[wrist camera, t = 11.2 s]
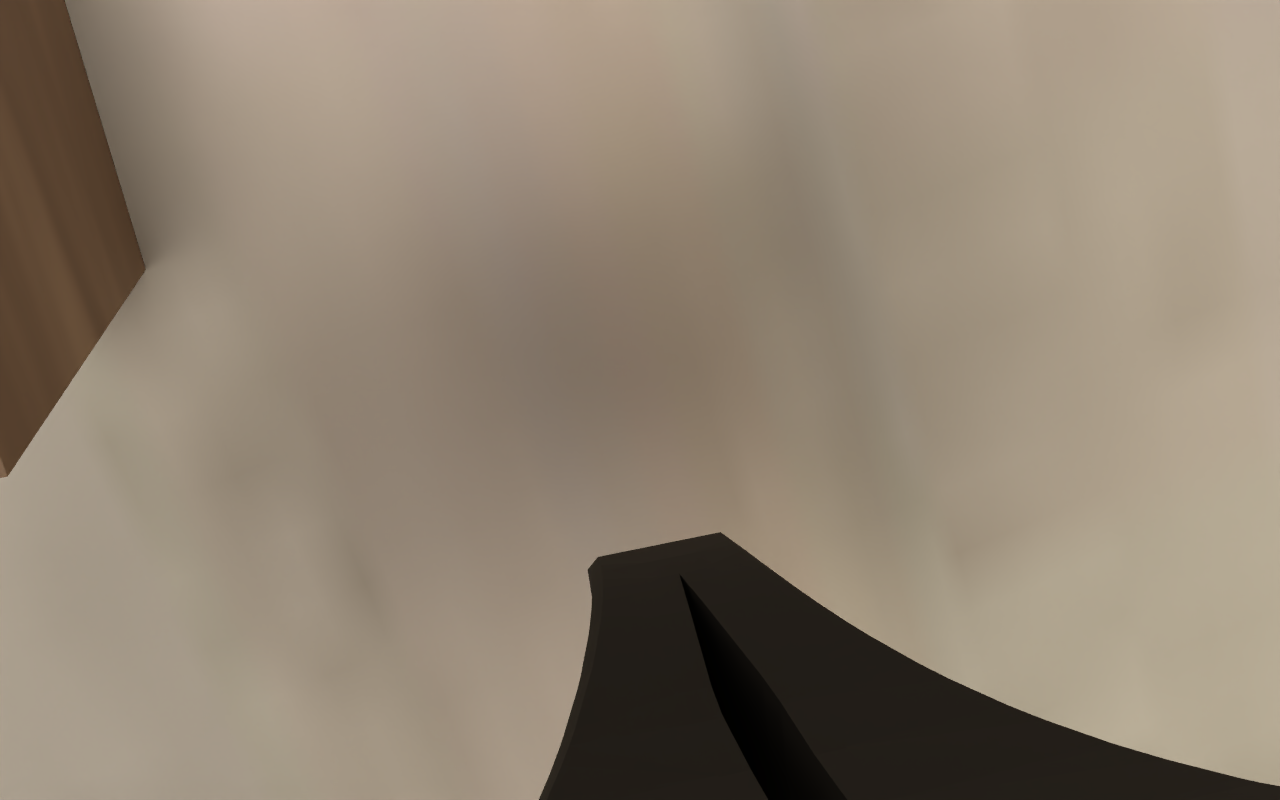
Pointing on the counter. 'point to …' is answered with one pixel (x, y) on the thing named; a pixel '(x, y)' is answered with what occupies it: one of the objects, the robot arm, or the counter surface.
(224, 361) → the counter surface
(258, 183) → the counter surface
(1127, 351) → the counter surface
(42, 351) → the walnut domino
